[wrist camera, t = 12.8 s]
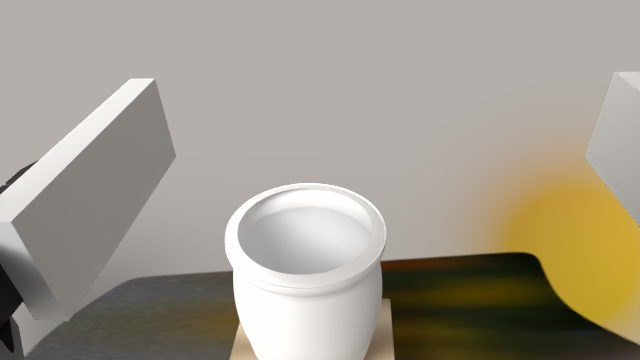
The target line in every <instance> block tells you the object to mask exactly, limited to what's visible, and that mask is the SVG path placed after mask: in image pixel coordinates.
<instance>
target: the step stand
mask: <svg viewBox="0 0 640 360" xmlns="http://www.w3.org/2000/svg"><path fill="white" fill-rule="evenodd" d="M230 360H258V358H257V356H256V354H255V352H254V350H253V348H252V346H251V343H250V341H249V339H248V338H247V336H246V334H245V331H244V329H243V327H242V324H241V322H240V324H239V327H238V331H237V335H236V338H235V342H234V346H233V349H232V353H231V357H230ZM364 360H395V358H394V344H393V330H392V316H391V303H390V299H382V300H381V307H380V312H379V317H378V320H377V324H376V327H375V330H374V332H373V335H372V338H371V342H370V345H369V348H368V350H367V353H366V355H365V357H364Z"/></svg>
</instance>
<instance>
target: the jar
mask: <svg viewBox="0 0 640 360" xmlns="http://www.w3.org/2000/svg"><path fill="white" fill-rule="evenodd" d="M385 241H386V225H385V222H384V219H383V217H382V216H381V214H380V212H379V211H378V210H377V209H376V207H375V206H374V205H373V204H372V203H370V202H369V201H368V200H367V199H365V198H364V197H362V196H360V195H358V194H356V193H354V192H352V191H349V190H347V189H344V188H341V187H337V186H332V185H326V184H315V183H305V184H304V183H303V184H292V185H286V186H281V187H278V188H274V189H271V190H268V191H265V192H263V193H261V194H259V195H257V196H255V197H253V198H251V199H250V200H248V201H247V202H246V203H244V204H243V205H242V206H241V207H240V208H239V209H238V210H237V211H236V212H235V213H234V214H233V216H232V217H231V219H230V220H229V222H228V224H227V227H226V231H225V249H226V254H227V257H228V260H229V262H230V264H231V265H232V267H233V268H234V270H233V284H234V296H235V302H236V307H237V312H238V315H239V319H240V322H241V324H242V327H243V329H244V331H245V334H246V336H247V338H248V339H249V341H250V343H251V346H252V348H253V350H254V352H255V354H256V356H257V358H258V360H364V357H365V355H366V353H367V350H368V348H369V345H370V342H371V338H372V335H373V332H374V330H375V327H376V324H377V320H378V317H379V312H380V307H381V300H382V272H381V264H380V259H381V257H382V255H383V252H384V248H385Z"/></svg>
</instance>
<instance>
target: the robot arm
mask: <svg viewBox="0 0 640 360" xmlns="http://www.w3.org/2000/svg"><path fill="white" fill-rule="evenodd" d="M175 157H176V154H175V151H174V147H173V144H172V140H171V136H170V132H169V129H168V125H167V121H166V117H165V114H164V110H163V106H162V103H161V99H160V96H159V92H158V88H157V85H156V81H155V79H130V80H129V81H128V82H126V83H125V84H124V85H123V86H122V87H121V88H120V89H119V90H118V91H116V92H115V93H114V94H113V95H112V96H111V97H110V98H108V99H107V101H105V102H104V103H103V104H102V105H101V106H100V107H98V108H97V109H96V110H95V111H94V112H93V113H92V114H90V115H89V116H88V117H87V118H86V119H85V120H84V121H83V122H82V123H80V124H79V125H78V126H77V127H76V128H75V129H74V130H73V131H71V132H70V133H69V134H68V135H67V136H66V137H65V138H63V139H62V140H61V141H60V142H59V143H58V144H57V145H56V146H55V147H53V148H52V149H51V150H50V151H49V152H48V153H47V154H46V155H44V156H43V157H42V158H41V159H39V160H38V161H36V162H34V163H32V164H30V165H28V166H27V167H25V168H23V169H21V170H20V171H19V172H17V174H15V175H14V176H13V177H12V178H11V179H9V180H8V181H7V182H6V185H5V186H4V185H3V186H2V187H0V360H24V354H23V349H22V343H21V337H20V332H19V327H18V325H17V323H16V322H15V320H14V319H13V317H12V314H13V313H14V312H15V310H16V309H17V308H18V307H19V306H20V304H21V303H22V302H24V304H25V305H26V307H27V309H28V310H29V312H30V313H31V314H32V316H33V318H34V319H35V320H52V321H69V320H70V318H71V317H72V315H73V314H74V312H75V311H76V309H77V308H78V306H79V305H80V303H81V302H82V300H83V299H84V297H85V295H86V294H87V292H88V291H89V289H90V287H91V286H92V284H93V283H94V282H95V280H96V279H97V277H98V275H99V274H100V272H101V271H102V269H103V268H104V266H105V265H106V263H107V262H108V260H109V259H110V257H111V256H112V254H113V253H114V251H115V249H116V248H117V246H118V245H119V243H120V242H121V240H122V239H123V237H124V236H125V234H126V233H127V231H128V229H129V228H130V226H131V225H132V223H133V222H134V220H135V218H136V217H137V216H138V214H139V213H140V211H141V209H142V208H143V207H144V205H145V203H146V202H147V200H148V199H149V197H150V196H151V194H152V193H153V191H154V190H155V188H156V187H157V185H158V183H159V182H160V180H161V179H162V177H163V176H164V174H165V173H166V171H167V170H168V168H169V167H170V165H171V164H172V162H173V161H174V159H175ZM585 158H586V160H587V161H588V162H589V163H590V165H591V166H592V167H593V168H594V169H595V171H596V172H597V174H598V175H599V176H600V177H601V179H602V180H603V181H604V182H605V183H606V185H607V186H608V187H609V189H610V190H611V191H612V192H613V194H614V195H615V196H616V197H617V199H618V200H619V201H620V202H621V204H622V205H623V206H624V207H625V209H626V210H627V211H628V213H629V214H630V215H631V216H632V217H633V219H634V220H635V221H636V223H637V224H638V225H639V226H640V72H615V73H614V76H613V79H612V82H611V84H610V87H609V90H608V93H607V96H606V98H605V101H604V104H603V107H602V110H601V113H600V115H599V118H598V121H597V124H596V127H595V130H594V132H593V135H592V138H591V141H590V144H589V147H588V149H587V152H586V155H585Z"/></svg>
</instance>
